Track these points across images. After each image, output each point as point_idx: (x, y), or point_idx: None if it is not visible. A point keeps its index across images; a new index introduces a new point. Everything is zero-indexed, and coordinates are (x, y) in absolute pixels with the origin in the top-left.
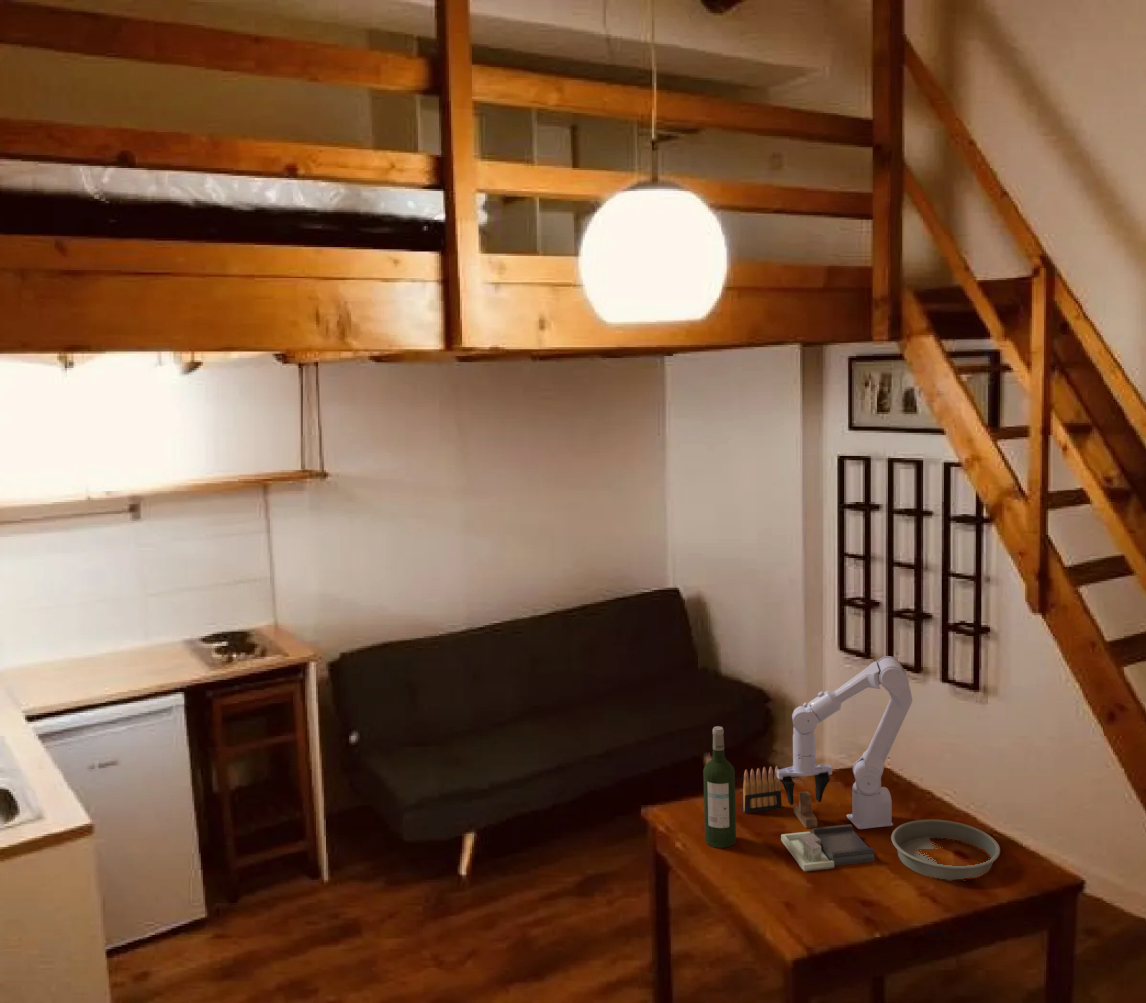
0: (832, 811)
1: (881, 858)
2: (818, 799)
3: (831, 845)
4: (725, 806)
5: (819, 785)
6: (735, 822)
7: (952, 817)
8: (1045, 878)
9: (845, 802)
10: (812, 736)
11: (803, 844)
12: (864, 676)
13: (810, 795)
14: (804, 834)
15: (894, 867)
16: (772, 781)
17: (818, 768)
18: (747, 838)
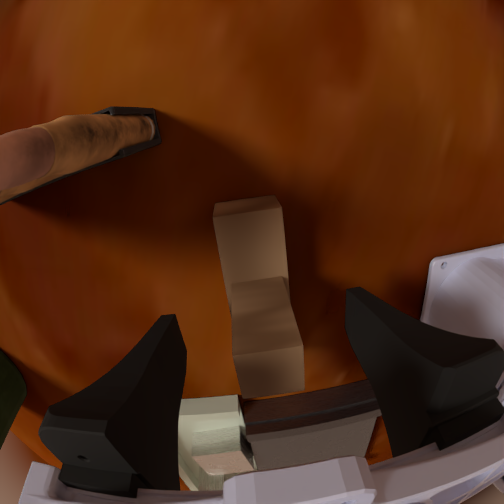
0: (403, 202)
1: (375, 446)
2: (349, 333)
3: (278, 465)
4: None
5: (386, 406)
6: (5, 429)
7: None
8: None
9: (472, 128)
10: None
11: (198, 490)
12: None
13: (299, 388)
14: (217, 417)
15: (377, 461)
16: (22, 191)
17: (445, 497)
18: (46, 373)
